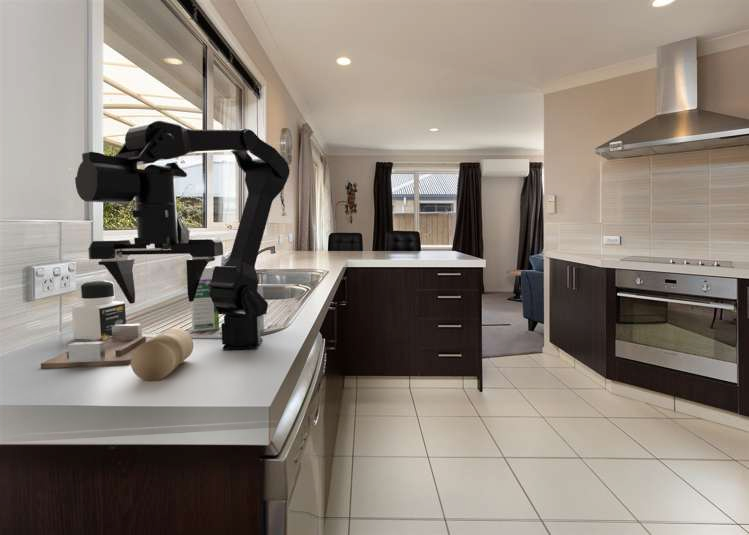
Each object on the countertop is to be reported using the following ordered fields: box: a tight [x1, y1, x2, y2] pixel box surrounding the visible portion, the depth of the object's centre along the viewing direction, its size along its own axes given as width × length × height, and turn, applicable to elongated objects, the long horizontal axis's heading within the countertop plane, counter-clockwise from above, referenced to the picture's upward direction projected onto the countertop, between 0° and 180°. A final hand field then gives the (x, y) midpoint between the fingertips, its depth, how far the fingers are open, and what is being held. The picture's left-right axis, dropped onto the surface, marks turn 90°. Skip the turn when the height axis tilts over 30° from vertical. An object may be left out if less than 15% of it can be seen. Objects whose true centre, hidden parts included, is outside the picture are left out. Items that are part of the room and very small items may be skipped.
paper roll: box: [130, 327, 194, 382], centre depth 70 cm, size 6×10×6 cm, turn 5°
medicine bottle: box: [71, 280, 127, 341], centre depth 95 cm, size 7×7×12 cm
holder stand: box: [40, 323, 153, 369], centre depth 81 cm, size 14×16×4 cm
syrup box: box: [190, 265, 220, 333], centre depth 101 cm, size 6×6×14 cm
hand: (162, 302), depth 70 cm, fingers open, 9 cm apart
